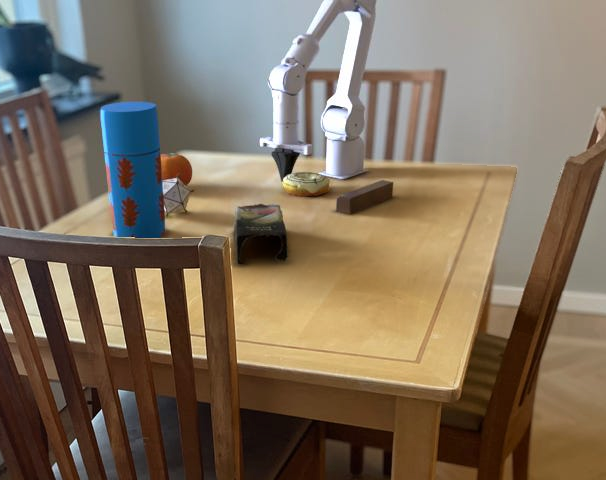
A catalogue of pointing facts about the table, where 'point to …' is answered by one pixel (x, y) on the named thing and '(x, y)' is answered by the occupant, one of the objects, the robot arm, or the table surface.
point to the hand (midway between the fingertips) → (285, 181)
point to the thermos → (134, 169)
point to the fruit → (176, 167)
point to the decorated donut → (306, 184)
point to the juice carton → (259, 226)
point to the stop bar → (364, 197)
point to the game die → (175, 195)
